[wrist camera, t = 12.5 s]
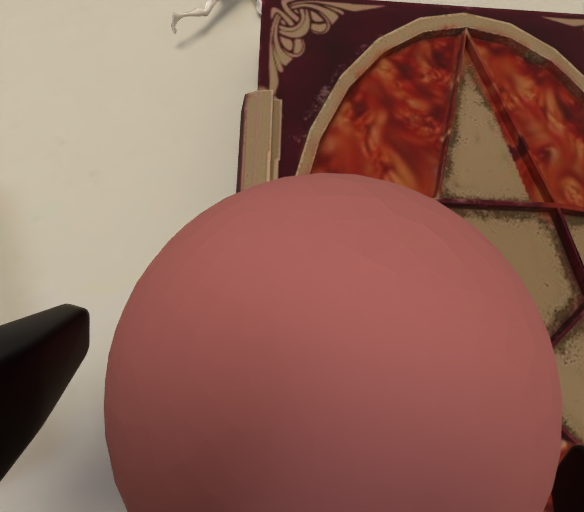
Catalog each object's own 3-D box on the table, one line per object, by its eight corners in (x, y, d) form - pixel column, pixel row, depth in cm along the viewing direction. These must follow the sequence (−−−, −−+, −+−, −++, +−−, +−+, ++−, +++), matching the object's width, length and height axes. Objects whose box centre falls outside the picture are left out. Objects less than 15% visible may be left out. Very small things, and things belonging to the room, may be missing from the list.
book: (750, 670, 18) (921, 768, 14) (211, 673, 17) (191, 780, 13) (622, 63, 26) (701, -10, 22) (248, 41, 25) (244, -41, 21)
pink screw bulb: (189, 299, 17) (4, 102, 5) (381, 275, 17) (588, 46, 6) (206, 516, 15) (-28, 936, 3) (422, 481, 15) (849, 745, 4)
